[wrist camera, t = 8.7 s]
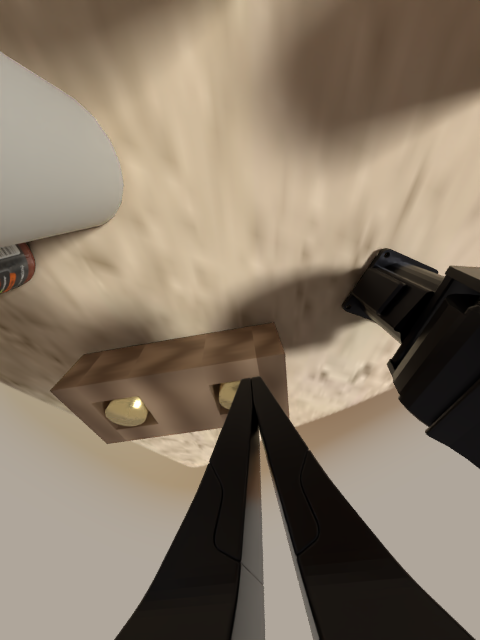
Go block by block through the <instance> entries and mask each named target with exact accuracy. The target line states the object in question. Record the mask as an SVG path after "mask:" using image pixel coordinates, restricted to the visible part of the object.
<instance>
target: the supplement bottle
mask: <svg viewBox="0 0 480 640" xmlns="http://www.w3.org/2000/svg"><path fill="white" fill-rule="evenodd" d="M34 271H35V260H34V257H33V255H32V253H31V251H30V249H29V247H28V246H27V244H26V243H25V242H24V243H20V244H15V245H11V246H6V247H2V248H0V294H2V293H4V292H7V291H9V290H11V289H14V288H16V287H19V286H20V285H22V284H24V283H26V282H27V281H29V280H30V279H31V277H32V276H33V274H34Z"/></svg>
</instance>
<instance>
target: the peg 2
mask: <svg viewBox="0 0 480 640" xmlns="http://www.w3.org/2000/svg"><path fill="white" fill-rule="evenodd" d="M240 381H241V380H239V381H232V382H226V383H220V386H219V402H220V404H221V405H222V406H223V407H225V408H226V409H230V407H231V404H232V401H233V399H234V396H235V394H236V391H237V389H238V386H239V383H240Z"/></svg>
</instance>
